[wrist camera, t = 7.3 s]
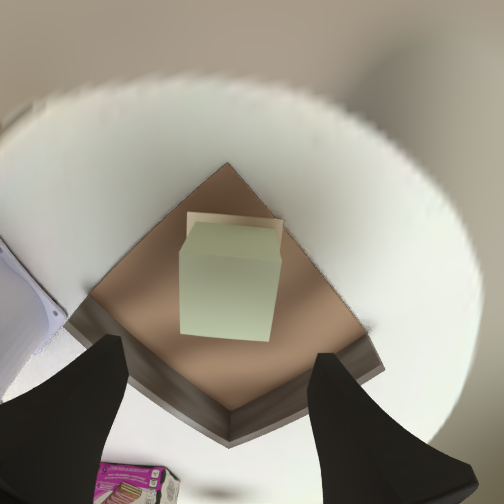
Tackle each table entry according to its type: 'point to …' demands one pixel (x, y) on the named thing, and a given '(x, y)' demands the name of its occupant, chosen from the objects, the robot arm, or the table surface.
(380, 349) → the table surface
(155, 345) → the tray
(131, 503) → the candy bar box
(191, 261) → the sage cube
